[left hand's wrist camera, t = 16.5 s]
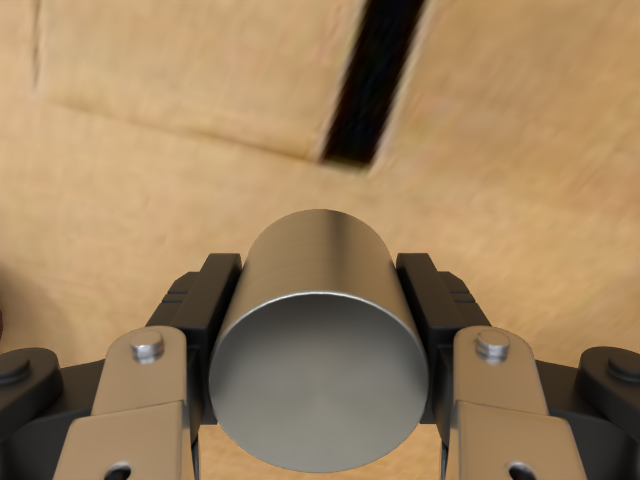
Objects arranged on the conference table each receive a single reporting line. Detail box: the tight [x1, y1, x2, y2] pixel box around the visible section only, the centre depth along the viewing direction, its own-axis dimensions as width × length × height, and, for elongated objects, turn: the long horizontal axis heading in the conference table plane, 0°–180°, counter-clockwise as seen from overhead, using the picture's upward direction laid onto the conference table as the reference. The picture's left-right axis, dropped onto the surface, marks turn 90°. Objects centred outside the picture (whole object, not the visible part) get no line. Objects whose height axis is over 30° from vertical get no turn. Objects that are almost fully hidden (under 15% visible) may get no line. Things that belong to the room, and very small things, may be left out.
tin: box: [206, 209, 431, 473], centre depth 10 cm, size 4×4×4 cm
